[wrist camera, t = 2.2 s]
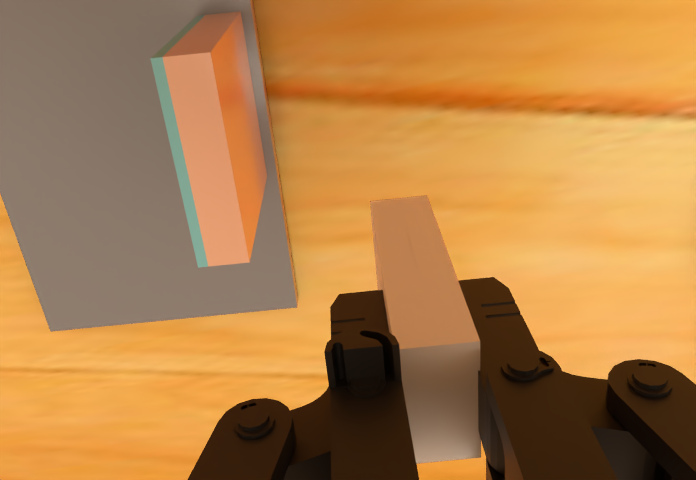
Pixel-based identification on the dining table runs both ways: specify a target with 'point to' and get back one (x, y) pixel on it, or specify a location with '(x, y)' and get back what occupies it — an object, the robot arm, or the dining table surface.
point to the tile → (213, 135)
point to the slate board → (118, 168)
